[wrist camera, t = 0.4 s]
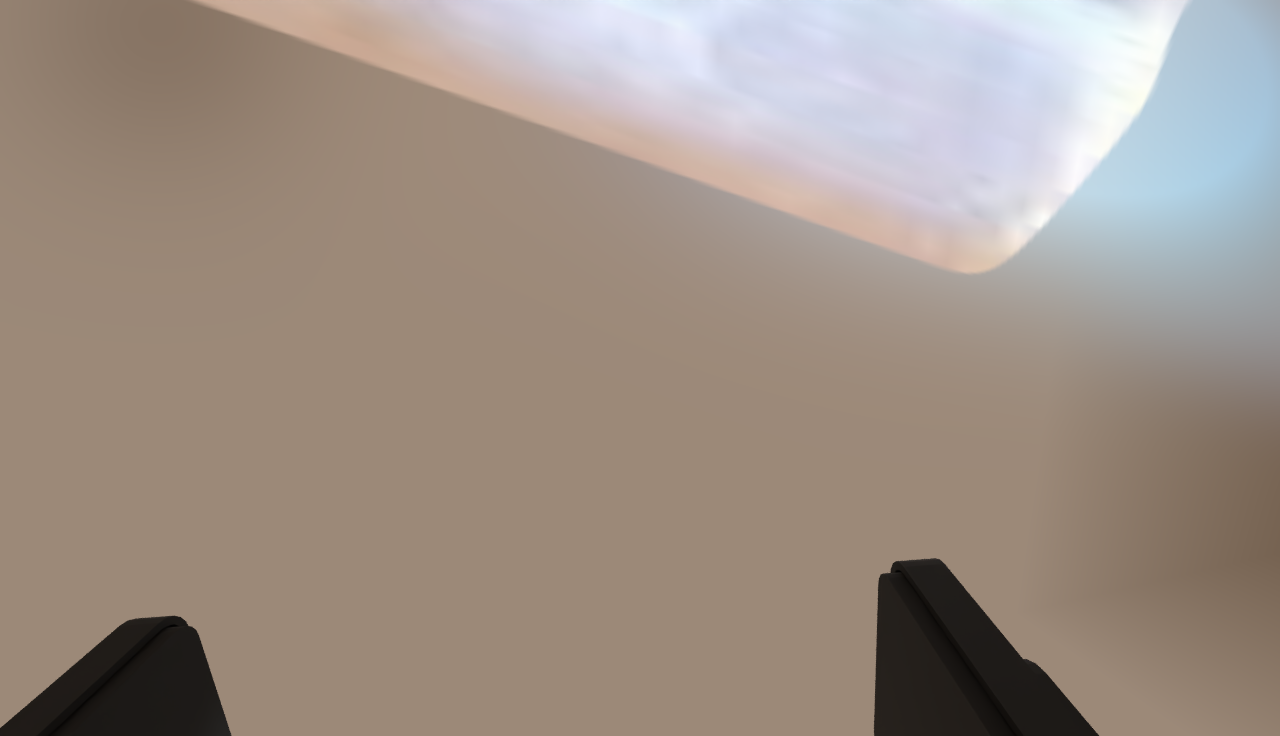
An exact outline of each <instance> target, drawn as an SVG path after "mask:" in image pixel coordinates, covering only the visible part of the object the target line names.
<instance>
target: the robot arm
mask: <svg viewBox="0 0 1280 736" xmlns="http://www.w3.org/2000/svg"><path fill="white" fill-rule="evenodd" d="M877 616H878V617H877V647H876V681H875V682H876V683H875V715H874V717H875V718H874V736H1099V735H1098V734H1097V733H1096V732H1095V730H1094V729H1093V728H1092V727H1091V726H1090V725H1089V723H1088V722H1087V721H1086V720H1085V719H1084V718H1083V716H1082V715H1081V714H1080V713H1079V711H1078V710H1077V709H1076V708H1075V707H1074V706H1073V704H1072V703H1071V702H1070V701H1069V700H1068V699H1067V697H1066V696H1065V695H1064V694H1063V693H1062V692H1061V690H1060V689H1059V688H1058V687H1057V686H1056V684H1055V683H1054V682H1053V681H1052V680H1051V678H1050V677H1049V676H1048V675H1047V674H1046V673H1045V672H1044V671H1043V670H1042V669H1041V668H1040V667H1039V666H1038V665H1036V664H1035V663H1033V662H1031V661H1029V660H1027V659H1022V657H1021V656H1020V655H1019V654H1018V652H1017V651H1016V650H1015V649H1014V648H1013V646H1012V645H1011V644H1010V643H1009V642H1008V640H1007V639H1006V638H1005V637H1004V635H1003V634H1002V633H1001V632H1000V631H999V629H998V628H997V627H996V626H995V625H994V623H993V622H992V621H991V620H990V618H989V617H988V616H987V615H986V614H985V612H984V611H983V610H982V609H981V608H980V606H979V605H978V604H977V603H976V601H975V600H974V599H973V598H972V597H971V595H970V594H969V593H968V592H967V591H966V590H965V588H964V587H963V586H962V584H961V583H960V582H959V581H958V580H957V578H956V577H955V576H954V575H953V574H952V572H951V571H950V570H949V569H948V568H947V566H946V565H945V564H944V563H943V562H942V561H941V560H940V559H936V558H934V559H921V560H909V561H896V562H894V563H893V565H892V568H891V573H885V574H881V575H880V578H879V584H878V613H877ZM0 736H231V733H230V730H229V727H228V724H227V721H226V717H225V714H224V711H223V708H222V705H221V702H220V699H219V696H218V693H217V690H216V687H215V684H214V681H213V678H212V674H211V672H210V668H209V665H208V662H207V659H206V656H205V653H204V650H203V647H202V644H201V641H200V638H199V635H198V633H197V631H196V630H195V629H194V628H193V627H190V626H188V624H187V623H186V621H185V620H184V619H182V618H181V617H178V616H165V617H151V618H139V619H133V620H129V621H126V622H125V623H123V624H122V625H120V626H119V627H118V628H117V629H115V630H114V631H113V632H112V633H111V634H110V635H108V636H107V637H106V638H105V639H104V640H103V641H101V642H100V643H99V644H98V645H97V646H96V647H94V648H93V649H92V650H91V651H90V652H89V653H87V654H86V655H85V656H84V657H83V658H82V659H80V660H79V661H78V662H77V663H76V664H75V665H73V666H72V667H71V668H70V669H69V670H68V671H66V672H65V673H64V674H63V675H62V676H61V677H59V678H58V679H57V680H56V681H55V682H54V683H52V684H51V685H50V686H49V687H48V688H47V689H46V690H44V691H43V692H42V693H41V694H40V695H38V696H37V697H36V698H35V699H34V700H33V701H31V702H30V703H29V704H28V705H27V706H26V707H25V708H23V709H22V710H21V711H20V712H19V713H17V714H16V715H15V716H14V717H13V718H12V719H10V720H9V721H8V722H7V723H6V724H5V725H3V726H2V727H1V728H0Z"/></svg>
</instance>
